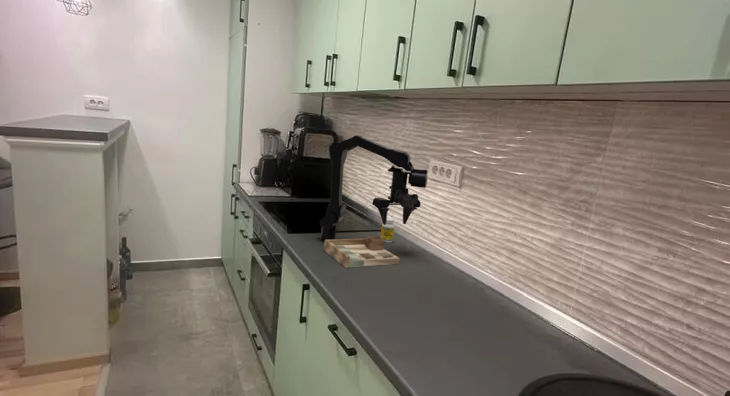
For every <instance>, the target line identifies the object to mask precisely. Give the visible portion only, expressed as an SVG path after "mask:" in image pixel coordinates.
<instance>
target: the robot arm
mask: <svg viewBox="0 0 730 396" xmlns="http://www.w3.org/2000/svg"><path fill="white" fill-rule="evenodd" d="M328 147H329V148H328V154H329V159H330V163H331V180H330V181H331V182H330V198H329V199H330V200H329V203H328V205H327V209H326V213H325V216H324V217H323V218H321V219H319V226H320V227H321V232H320V235H317V239H319V240H320V241H322V242H323V243H325V240H333V239H337V238H336V232H337V231H336V230H337V225H338V224H339V222H340V221H342V220H343V219H344V217H345V215H347V213H346V209H347V204H343V200H342V199H343V177H344V165H345V162H346V160H347V156H348V152H349V151H352V150H354V149H355V148H357V147H359V148H361V149H364V150H366V151H369V152H371V153H374V155H378V156H380V157H382V158H384V159H386V160H387V161H388V162H390V163H391V164H392V165H391V167H390V168H389V169H387V172H389V173H392V177H391V185H389V187H388V189H390V196H388V197H387V198H384V197H374V198H373V199H372V206H374V207H375V208H377V210H378V212H379V215H380V219H381V221H382V224H384V225H386V220H387V218H388V212H389V211H390V208H389V207H390V206H401V207H402V224H403V225H406V224H407V222H408V220H409V217H410V215H411V214H412V213H413V212H414V211H415V210H418V208H421V201H420V199H419V195H418V194H417V193H412V194H409V188H408V187H407V186H408V185H407V183H408V184H409V185H410V187H415V188H423V189H426V188H427V185H428V169H418V168H415V167H414V166H413V163H412V162H411V155H410V153H408V152H407V151H404V150H400V149H395V148H390V147H387V146H384V145H382V144H380V143H377V142H374V141H372V140H370V139H367V138H365V137H363V136H362V135H353V137H350V138H348V139H345V140H342V141H334V142H332V143H331V144H330V145H329V146H328Z"/></svg>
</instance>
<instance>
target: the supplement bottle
mask: <svg viewBox="0 0 730 396" xmlns="http://www.w3.org/2000/svg"><path fill="white" fill-rule="evenodd" d="M394 220H395V219H393V218H389V217H387V220H386V225H384V224H383V223H382V224H381V231H380V236H379V237H380V238H381V239H383V240H384V243H392V242H393V239H394V231H395V225H394Z"/></svg>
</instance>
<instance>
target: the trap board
mask: <svg viewBox="0 0 730 396" xmlns="http://www.w3.org/2000/svg"><path fill="white" fill-rule="evenodd" d="M365 242H366V237H365V238H343V239H342V238H341V239H339V238H336V239H333V240H325V242H323V243H324V245H323V251H324V252H326V253H327V254H328V255H329V256H330V257H332V259H334V260H335V261H336V262H338V263H339V264H340V265H342V266H343V267H344V268H345V269H347V268H359V267H373V266H376V267H377V266H386V265H389V266H390V265H400V261H401V260H400V259H401V258H400V257H399V256H397V255H395V254H393V253H392V252H390V251H388V250H387V249H385V248H384V247H383V250H375V251H371V250H370V249H368V248H367V247H365Z"/></svg>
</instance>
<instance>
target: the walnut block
mask: <svg viewBox="0 0 730 396" xmlns="http://www.w3.org/2000/svg"><path fill="white" fill-rule="evenodd" d="M380 237H381V236H378V235H373V236H371V235H370V236H367V235H366V236H365V238H366V242H365V247H367V248H368V249H370V250H371V251H375V250H383V248H384V244H385V242H384V240H383V239H381V238H380Z"/></svg>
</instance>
